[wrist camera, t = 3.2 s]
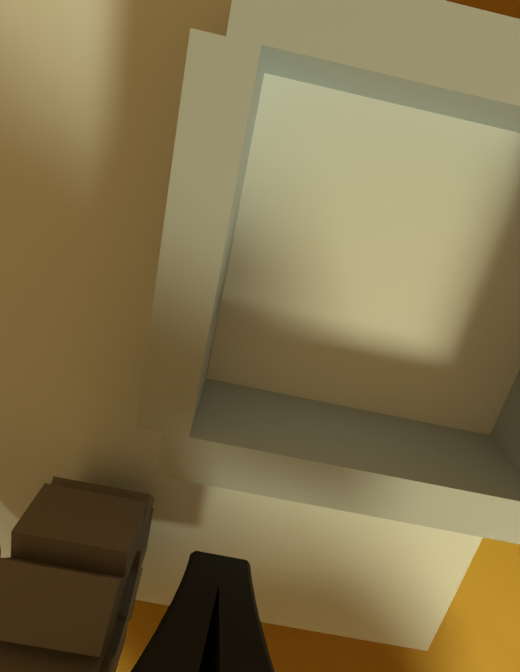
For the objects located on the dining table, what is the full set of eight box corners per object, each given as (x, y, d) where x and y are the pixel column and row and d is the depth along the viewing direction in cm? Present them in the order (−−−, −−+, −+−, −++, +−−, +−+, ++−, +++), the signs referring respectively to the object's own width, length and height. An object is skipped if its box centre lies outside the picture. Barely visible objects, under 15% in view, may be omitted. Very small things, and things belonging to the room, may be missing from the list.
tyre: (140, 589, 13) (81, 784, 9) (61, 575, 13) (-35, 766, 9) (161, 460, 12) (101, 625, 8) (72, 443, 12) (-38, 601, 8)
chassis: (416, 615, 15) (485, 838, 10) (-120, 519, 15) (-327, 712, 10) (644, 116, 10) (1013, 80, 5) (-178, -81, 9) (-716, -362, 4)
